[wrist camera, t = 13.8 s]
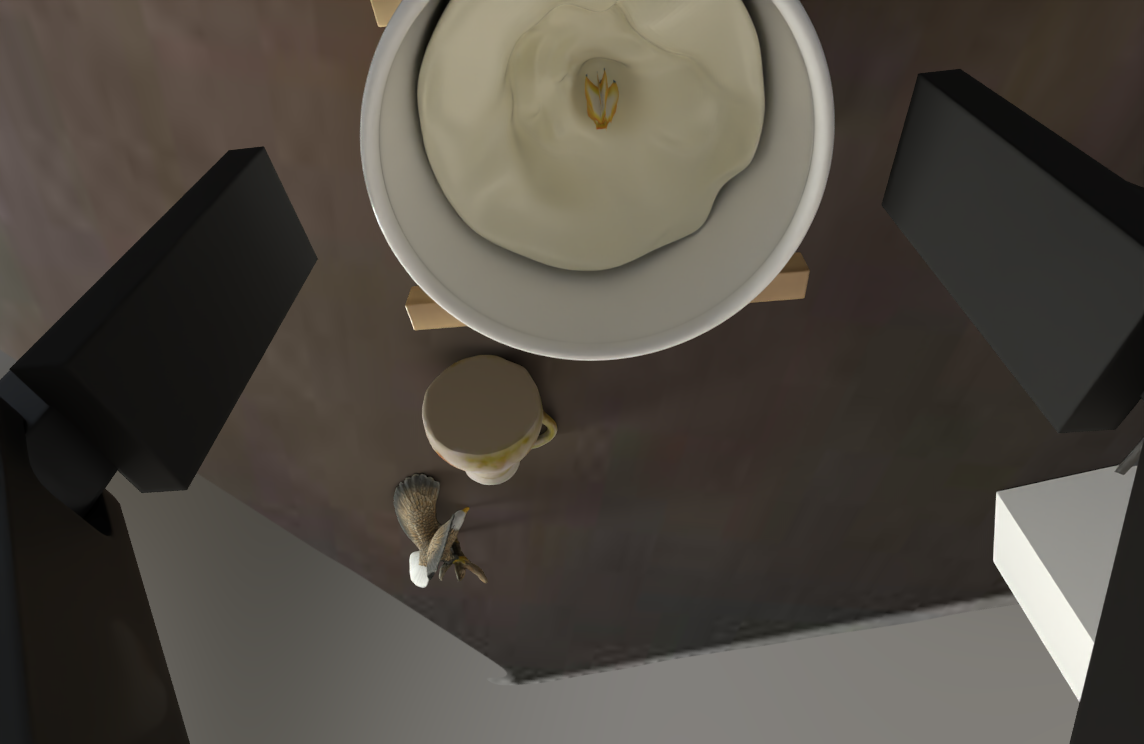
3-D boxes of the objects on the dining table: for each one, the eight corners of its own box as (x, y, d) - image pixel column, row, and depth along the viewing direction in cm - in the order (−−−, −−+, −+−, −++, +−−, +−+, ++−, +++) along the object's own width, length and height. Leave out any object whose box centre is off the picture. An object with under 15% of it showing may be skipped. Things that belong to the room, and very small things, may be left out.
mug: (451, 452, 44) (389, 515, 35) (474, 328, 41) (413, 360, 32) (547, 479, 43) (510, 552, 34) (576, 355, 41) (545, 396, 31)
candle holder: (784, -33, 20) (951, 85, 11) (633, 207, 26) (663, 406, 17) (515, -221, 17) (450, -266, 8) (415, 101, 23) (315, 276, 14)
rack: (364, -140, 21) (236, -115, 13) (782, -202, 20) (918, -216, 12) (453, 197, 30) (409, 333, 22) (746, 168, 29) (810, 300, 21)
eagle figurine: (514, 539, 50) (475, 497, 43) (466, 617, 47) (416, 586, 40) (448, 503, 53) (402, 458, 46) (399, 574, 51) (343, 538, 43)
